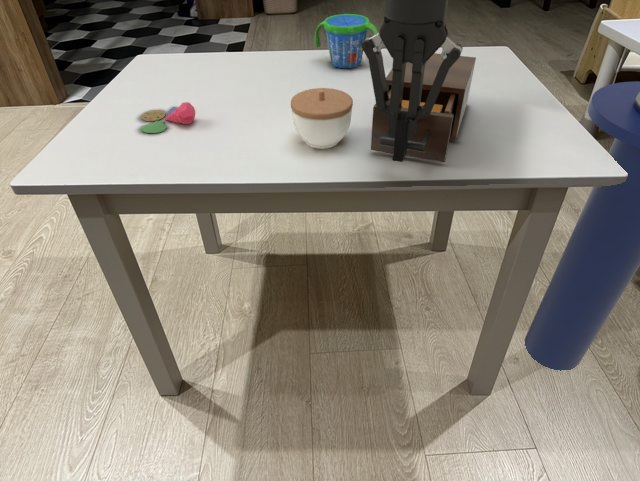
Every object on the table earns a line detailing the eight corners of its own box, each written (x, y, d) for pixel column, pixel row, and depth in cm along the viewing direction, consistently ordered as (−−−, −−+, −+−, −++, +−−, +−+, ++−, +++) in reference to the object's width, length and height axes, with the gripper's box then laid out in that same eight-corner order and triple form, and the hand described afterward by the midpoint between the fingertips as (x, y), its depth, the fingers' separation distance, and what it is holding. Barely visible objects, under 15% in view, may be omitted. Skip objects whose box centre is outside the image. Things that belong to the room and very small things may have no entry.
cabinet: (455, 142, 82) (465, 89, 75) (380, 130, 86) (384, 79, 79) (466, 106, 93) (476, 57, 86) (400, 97, 97) (404, 50, 90)
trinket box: (330, 121, 89) (330, 74, 82) (363, 144, 82) (365, 94, 76) (282, 137, 84) (278, 87, 78) (312, 162, 78) (311, 110, 71)
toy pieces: (204, 107, 95) (200, 87, 92) (192, 133, 86) (187, 111, 83) (147, 108, 95) (141, 88, 92) (130, 134, 87) (123, 112, 84)
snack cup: (307, 66, 111) (306, 22, 105) (327, 52, 118) (326, 10, 112) (366, 76, 106) (369, 30, 99) (383, 61, 113) (386, 17, 106)
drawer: (438, 180, 71) (446, 134, 66) (361, 166, 74) (363, 122, 69) (457, 123, 85) (465, 82, 80) (391, 114, 89) (394, 73, 83)
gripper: (356, -15, 53) (351, 161, 68) (471, -8, 49) (438, 177, 64) (373, -28, 58) (365, 138, 73) (478, -23, 54) (446, 151, 70)
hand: (399, 156), depth 69 cm, fingers closed
